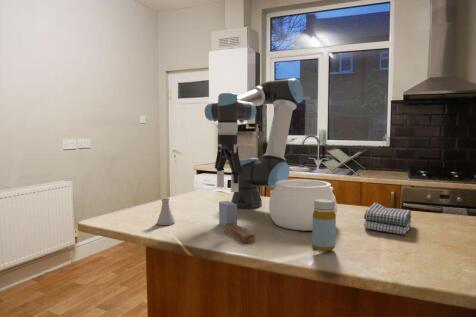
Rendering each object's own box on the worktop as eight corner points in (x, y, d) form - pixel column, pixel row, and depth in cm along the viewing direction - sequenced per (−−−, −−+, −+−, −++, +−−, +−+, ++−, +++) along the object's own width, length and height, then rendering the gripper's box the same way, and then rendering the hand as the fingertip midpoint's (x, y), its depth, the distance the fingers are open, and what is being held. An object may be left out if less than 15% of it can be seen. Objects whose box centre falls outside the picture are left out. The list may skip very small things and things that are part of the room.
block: (234, 229, 125) (234, 223, 124) (254, 242, 110) (254, 234, 110) (224, 230, 123) (224, 224, 123) (244, 243, 108) (244, 236, 108)
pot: (293, 237, 115) (293, 190, 114) (254, 220, 138) (254, 181, 137) (353, 227, 128) (354, 184, 127) (308, 212, 151) (309, 177, 150)
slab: (228, 222, 134) (228, 200, 134) (236, 227, 127) (236, 204, 127) (219, 223, 133) (219, 201, 132) (227, 229, 126) (227, 205, 125)
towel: (362, 230, 125) (363, 209, 124) (371, 219, 140) (371, 201, 140) (407, 236, 117) (408, 214, 116) (411, 224, 132) (412, 205, 132)
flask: (170, 226, 129) (170, 200, 129) (153, 225, 131) (152, 200, 130) (177, 221, 136) (177, 197, 136) (161, 220, 138) (160, 196, 137)
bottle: (309, 244, 108) (310, 198, 107) (330, 243, 109) (331, 198, 108) (316, 251, 101) (317, 202, 100) (338, 250, 102) (339, 202, 101)
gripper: (206, 134, 137) (206, 185, 138) (232, 133, 115) (231, 195, 116) (223, 134, 140) (223, 184, 142) (251, 134, 118) (250, 193, 119)
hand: (227, 189), depth 129 cm, fingers open, 13 cm apart
